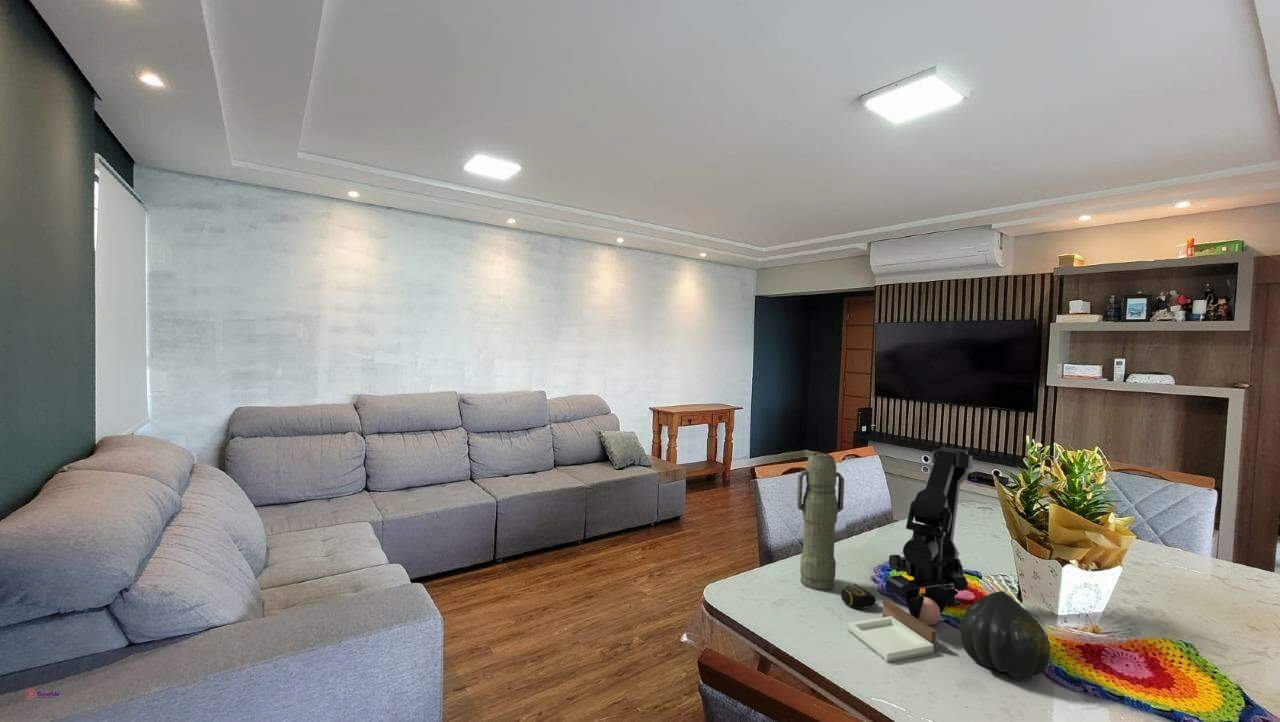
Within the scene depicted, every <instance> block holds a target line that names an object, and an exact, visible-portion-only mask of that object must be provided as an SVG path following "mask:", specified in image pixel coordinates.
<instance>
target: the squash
mask: <svg viewBox="0 0 1280 722" xmlns="http://www.w3.org/2000/svg"><path fill="white" fill-rule="evenodd" d="M959 636H960V641H961V644H962V647H963V649H964V651H965V652H966V654H967V656H969V658H970V659H972V660H973V661H974V662H977V664H980V665H983V666H985V667H987V668H988V669H989V668H990V669H992V668H996V669H997V670H998V671H1000V672H1006V673H1007V674H1008V675H1009V677H1011V678H1013V679H1014V680H1017V681H1026V680H1030V678H1031V677H1037V676H1039V675H1041V674H1042V673H1043V672H1044V671H1045V670H1046V668H1048V664H1049V662H1050V657H1051V645H1050V640H1049V638H1048V635H1047V633H1046V631H1045V630H1044V628H1043V627H1042V626H1041V624H1040V623H1039V622H1038V621H1037V619H1035V617H1034V616H1033V615H1031V614H1030V613H1029V612H1028V611H1027V610H1026V609H1025V608H1024V607H1022V606H1021V604H1019V603H1018V602H1017V601H1016V600H1015V599H1014V598H1013V597H1012V596H1011V595H1009V594H1007V593H1006V591H1004V590H1000V591H995V592H992V593H989V594H987V595H985V596H983V597H981V598H979V599H977V600H975V601H974V602H973V603H971V604H970V605H969V606H968V607H967V608H966V609H965V611H964V613H963V615H962V617H961V620H960V623H959Z"/></svg>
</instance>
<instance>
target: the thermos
mask: <svg viewBox="0 0 1280 722" xmlns="http://www.w3.org/2000/svg"><path fill="white" fill-rule="evenodd" d="M804 477H805V483H806V486H805V491H804V494H803V486H804V485H803V482H804V481H803V480H804V479H803V478H804ZM837 477H838V484H837ZM836 485H837V487H838V489H837V491H836ZM836 492H837V493H836ZM844 492H845V478H844V477H843V475H842V474H841V473H840V472H837V465H836V461H835V458H834V456H833V455H832V454H829V453H824V452H823V453H822V452H814V453H812V454H810V455H809V456H808V459H807V463H806V468H805V469H804V470H801V471H800V472H799V474H797V494H796V502H797V503H796V505H797V509H798V510H799V511H802V519H803V545H802V547H803V548H802V552H801V555H800V565H799V566H800V568H799V569H800V570H799V571H800V572H799V573H800V583H801V584H802V585H803V586H805V587H806V588H808V589H811V590H815V591H822V592H823V591H826V592H827V591H830V590H833V589H834V588H835V578H836V571H837V570H836V566H837V562H836V559H835V538H836V537H835V533H836V523H837V522H838V514H839V513H841V512H842V511H843V510H844V495H845V493H844ZM836 494H837V495H836Z"/></svg>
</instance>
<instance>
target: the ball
mask: <svg viewBox="0 0 1280 722" xmlns="http://www.w3.org/2000/svg"><path fill="white" fill-rule="evenodd" d="M940 618H941V615H940V609H939V607H938V605H937V604H936V603H935V602H934V601H933V600H932V599H930V598H928V597H924V601H923V605H922V608H921V611H920V615H919V618H918V620H920V621H921V622H923V623H924V624H926V625H927V626H933V625H936V623H938V622H939V621H940Z"/></svg>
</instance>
